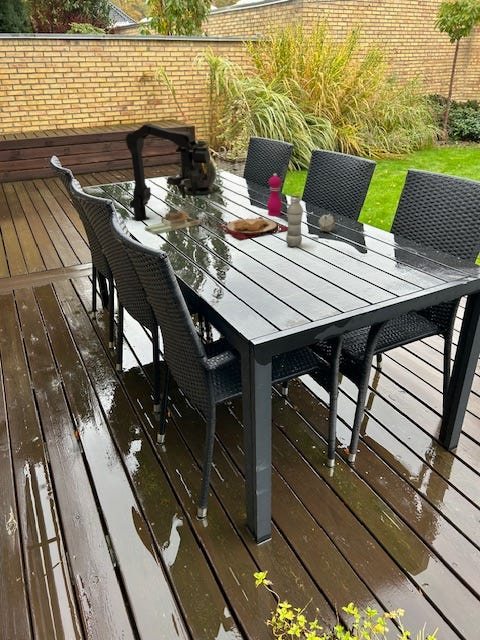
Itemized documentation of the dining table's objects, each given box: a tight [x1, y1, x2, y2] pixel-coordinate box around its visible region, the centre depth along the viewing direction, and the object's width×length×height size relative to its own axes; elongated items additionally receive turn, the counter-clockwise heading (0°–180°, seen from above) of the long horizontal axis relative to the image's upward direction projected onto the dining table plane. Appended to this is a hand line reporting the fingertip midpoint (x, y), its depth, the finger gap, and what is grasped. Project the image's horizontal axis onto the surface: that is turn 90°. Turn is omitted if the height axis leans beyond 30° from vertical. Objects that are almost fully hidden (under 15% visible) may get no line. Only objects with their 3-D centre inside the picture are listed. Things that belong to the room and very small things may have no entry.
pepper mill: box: [266, 173, 283, 217], centre depth 237 cm, size 7×7×20 cm
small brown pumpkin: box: [315, 212, 338, 233], centre depth 213 cm, size 9×8×10 cm
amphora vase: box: [178, 140, 217, 196], centre depth 279 cm, size 22×22×28 cm
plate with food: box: [217, 216, 288, 240], centre depth 221 cm, size 25×26×4 cm
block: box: [165, 211, 179, 222], centre depth 223 cm, size 4×4×4 cm
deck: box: [144, 216, 201, 235], centre depth 224 cm, size 9×24×4 cm, turn 129°
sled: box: [163, 210, 187, 226], centre depth 224 cm, size 6×9×4 cm, turn 129°
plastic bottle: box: [285, 195, 304, 247], centre depth 195 cm, size 6×7×20 cm
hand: (189, 197), depth 225 cm, fingers open, 5 cm apart
